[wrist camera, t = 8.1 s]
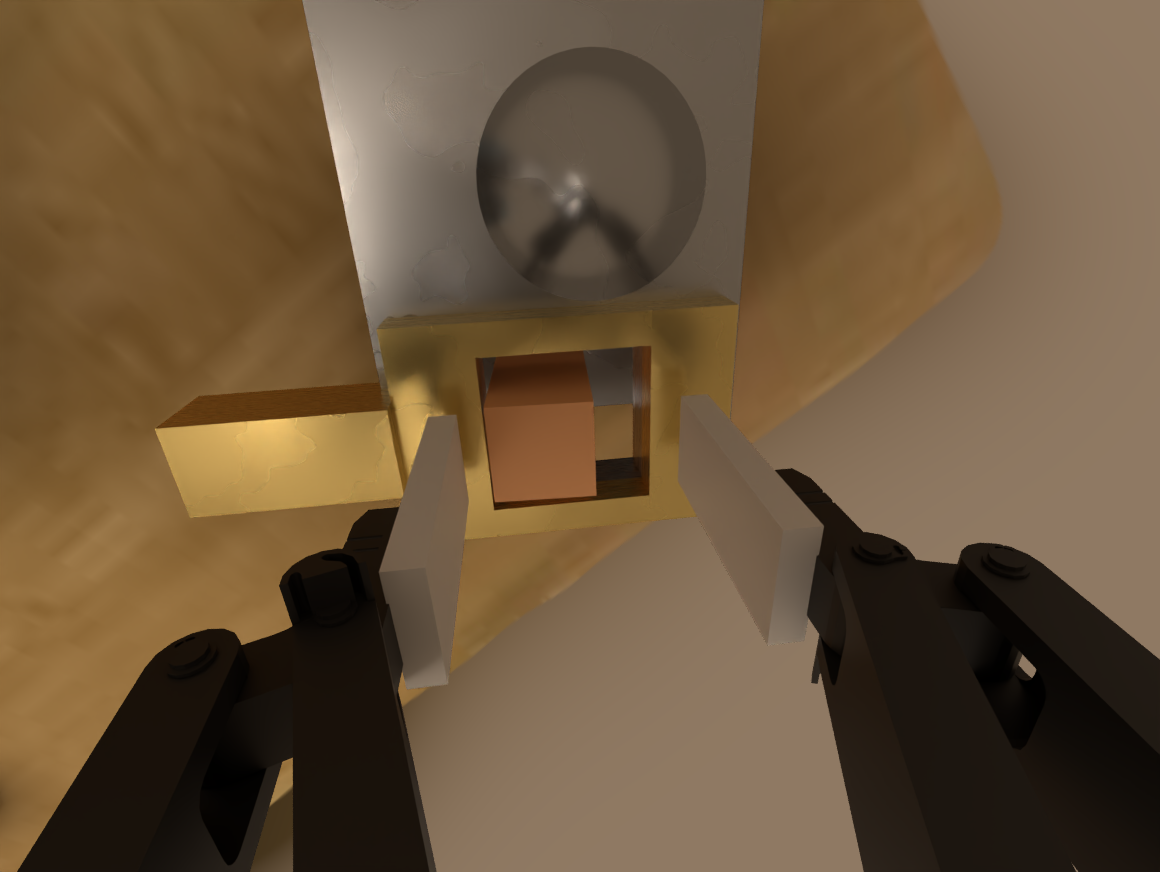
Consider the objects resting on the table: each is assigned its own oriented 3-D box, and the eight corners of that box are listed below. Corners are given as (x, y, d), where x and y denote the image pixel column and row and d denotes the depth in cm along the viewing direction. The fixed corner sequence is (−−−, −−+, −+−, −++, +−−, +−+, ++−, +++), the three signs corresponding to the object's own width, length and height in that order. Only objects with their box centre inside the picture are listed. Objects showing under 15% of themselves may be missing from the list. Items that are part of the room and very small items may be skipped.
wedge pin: (512, 384, 26) (494, 502, 17) (505, 318, 25) (483, 408, 16) (578, 380, 26) (596, 495, 17) (575, 315, 25) (593, 401, 16)
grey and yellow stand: (321, 438, 27) (76, 797, 12) (220, 49, 20) (-666, -316, 5) (681, 408, 29) (886, 691, 13) (696, 36, 22) (1144, -272, 7)
